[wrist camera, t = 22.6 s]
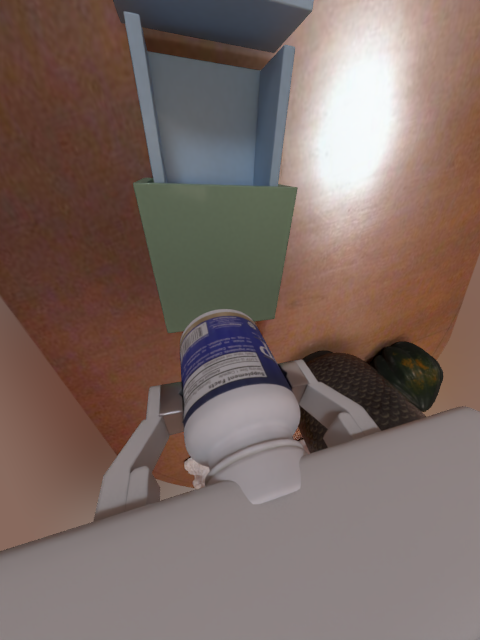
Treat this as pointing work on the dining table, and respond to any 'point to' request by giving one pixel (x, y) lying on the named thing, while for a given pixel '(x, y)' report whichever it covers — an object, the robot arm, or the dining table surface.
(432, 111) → the dining table surface
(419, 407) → the squash
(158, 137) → the cabinet drawer
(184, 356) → the pill bottle
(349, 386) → the planter
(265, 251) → the green drawer cabinet
